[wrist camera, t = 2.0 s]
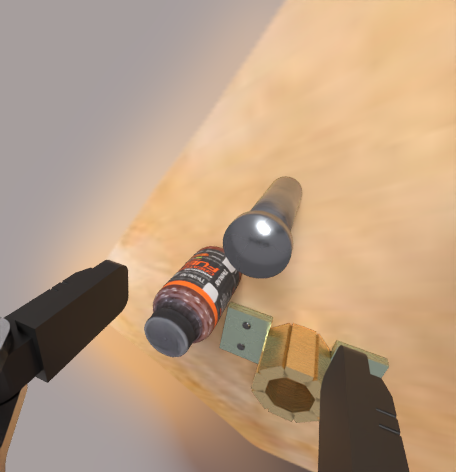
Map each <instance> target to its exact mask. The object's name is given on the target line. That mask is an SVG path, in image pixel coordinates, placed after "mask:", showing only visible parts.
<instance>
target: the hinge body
mask: <svg viewBox="0 0 456 472" xmlns="http://www.w3.org/2000/svg"><path fill="white" fill-rule="evenodd" d="M272 319H273V317H271V316H268V315H265V314H263V313H260V312H257V311H254V310H252V309H249V308H246V307H243V306H241V305H238V304H235V303H233V302H231V303H230V305H229V307H228V311H227V315H226V320H225V325H224V329H223V334H222V338H221V343H220V348H221V349H223V350H225V351H228V352H230V353H233V354H235V355H238V356H240V357H243V358H245V359H247V360H250V361H252V362H255V363H257V364H258V365H257V369H256V372H255V376H254V379H253V383H252V387H251V389H252V392H253V394H254V395H255V396H256V398H257V399H258V400H259V402H260V403H261V405H262V406H263V407H264V409H268V412H271V413H273V414H275V415H277V416H280V417H282V418H284V419H286V420H289V421H291V422H292V421H293V419H294V421H295V422H296V423H300V422H311V421H319V418H320V390H321V384H322V380H323V377H324V375H325V373H326V371H327V369H328V367H329V365H330V363H331V361H332V359H333V357H334V355H335V353H336V351H337V349H338V347H339V346H340V345H343V346H346V347H348V348H351V349H354V350H357V351H359V352H362V353H365V354H366V355H367V357H368V362H369V368H370V374H372V375H374V376H377V377H380V378H382V376H383V375H384V373H385V372H386V370H387V369H388V368H389V364H388V360H387V359H386V358H384V357H381V356H378V355H375V354H373V353H370V352H367V351H364V350H362V349H359V348H356V347H353V346H351V345H348V344H345V343H342V342H340V341H336V343H335V345H334V347H333V349H332V351H330V350H329V348H328V346H327V345H326V343H325V342H324V340H323V339H322V337H321V336H320V334H317V335H316V331H313V330H311V329H308V328H305V327H302V326H300V325H297V324H294V323H293V325H292V326H291V325H290V323H287V324H284V325H281V326H277V327H274V328H270V326H271V323H272ZM269 329H270V330H269Z"/></svg>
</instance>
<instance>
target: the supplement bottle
mask: <svg viewBox="0 0 456 472" xmlns="http://www.w3.org/2000/svg"><path fill="white" fill-rule="evenodd" d="M240 278H241V273H240V272H239V271H238V270H236V269H235V268H234V267H233V266H232V265H231V264H230V262H229V261H228V259H227V258H226V255H225V253H224V249H222V248H219V247H214V246H209V247H205V248H203V249H201V250H199V251H198V252H197V253H196V254H194V256H193V257H192V258H191V259H190V260H189V261H188V262H186V264H185V265H184V266H183V267H182V268H181V269H180V270H179V271H178V272H177V273H176V274H175V275H174V276H173V277H172V278H171V279H170V280H169V281H168V282H167V283H166V284H165V285H164V286H163V288H162V289H161V290H160V291H159V292H158V293H157V295H156V297H155V299H154V302H153V314H152V316H151V317H150V318H149V319H148V320H147V322H146V324H145V327H144V330H145V335H146V338H147V339H148V341H149V342H150V344H151V345H152V346H153V347H154V348H155V349H156V350H158V351H159V352H160V353H162V354H165V355H167V356H170V357H180V356H182V355H184V354H185V353H186V352H187V351H188V349H189V347H190V346H191V345H192V343H197V342H200V341H202V340H204V339H206V338H207V337H208V336H209V335H210V334H211V332H212V331H213V329H214V328H215V325H216V324H217V322H218V320H219V319H220V317H221V315H222V313H223V311H224V309H225V308H226V306H227V304H228V302H229V300H230V298H231V297H232V295H233V293H234V291H235V289H236V288H237V286H238V283H239V281H240Z"/></svg>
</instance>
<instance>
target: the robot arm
mask: <svg viewBox="0 0 456 472" xmlns="http://www.w3.org/2000/svg"><path fill="white" fill-rule="evenodd" d="M127 301H128V269H127V267H126V266H124V265H122V264H119V263H116V262H113V261H111V260H105V261H103V262H102V263H100V264H99V265H97V266H96V267H94V268H88V269H85V270H83V271H79V272H76V273H74V274H73V275H71V276H70V277H68V278H67V279H65V280H63V282H62V283H58V284H57V285H55V286H54V287H52V289H51V290H50V289H49V290H47V291H46V292H44V293H43V294H41V295H39V296H38V297H36V298H35V299H33V300H32V301H30V302H29V303H27V304H25V305H24V306H22V307H20V308H19V309H17V310H16V311H14V312H12V313H11V314H9V315H8V316H6V317H4V318H2V317H0V472H5V463H6V456H7V452H8V448H9V446H10V443H11V440H12V436H13V433H14V430H15V427H16V424H17V420H18V417H19V414H20V411H21V408H22V405H23V401H24V398H25V395H26V392H27V388H28V387H27V383H29V382H30V381H31V380H32V379H33V378H34V377H37V378H39V379H41V380H43V381H45V382H49V381H50V380H51V379H52V378H53V377H54V376H55V375H56V374H57V373H58V372H59V371H60V370H61V369H63V368H64V367H65V366H66V365H67V364H68V363H69V362H70V361H71V360H72V359H73V358H74V357H75V356H76V355H77V354H78V353H79V352H80V351H81V350H82V349H83V348H84V347H85V346H87V344H89V343H90V342H91V341H92V340H93V339H94V338H95V337H96V336H97V335H98V334H99V333H100V332H101V331H102V330H103V329H104V328H105V327H106V326H107V325H108V324H109V323H110V322H111V321H113V320H114V319H115V318H116V317H117V316H118V315H119V314H120V313H121V312H122V311H123V309H124V308H125V306H126V304H127ZM318 472H409V468H408V463H407V459H406V455H405V450H404V446H403V442H402V437H401V436H400V429H399V424H398V420H397V419H396V411H395V407H394V403H393V398H392V396H391V394H390V392H389V391H388V389H387V387H386V385H385V384H384V382H383V380H382V379H381V378H380V377H377V376H374V375H372V374H370V368H369V362H368V357H367V355H366V354H365V353H362V352H359V351H357V350H354V349H351V348H348V347H346V346H343V345H340V346H339V347H338V349H337V351H336V353H335V355H334V357H333V359H332V361H331V363H330V365H329V367H328V369H327V371H326V373H325V375H324V377H323V380H322V384H321V390H320V418H319V458H318Z"/></svg>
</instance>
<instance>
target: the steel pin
mask: <svg viewBox="0 0 456 472" xmlns="http://www.w3.org/2000/svg"><path fill="white" fill-rule="evenodd" d="M301 197H302V188H301V186H300V184H299V183H298V181H296V180H295V179H293V178H291V177H281V178H278V179H276V180H275V181H274V182H273V183H272V184H271V186H270V187H269V188H268V189H267V191H266V192H265V193H264V194H263V196H262V197H261V198H260V199H259V201H258V202H257V203H256V204H255V206H254V207H253V208H252V209H251V211H249V212H246V213H243V214H241V215H240V216H238V217H237V218H236V219H235V220H234V221H233V222H232V223H231V224H230V225H229V227H228V228H227V230H226V231H225V234H224V237H223V249H224V253H225V255H226V258H227V259H228V261H229V262H230V264H231V265H232V266H233V267H234V268H235V269H236V270H238V271H239V272H240V273H242V274H244V275H246V276H249V277H253V278H269V277H273V276H275V275H277V274H279V273H280V272H281V271H283V270H284V269H285V267H286V266H287V264H288V263H289V260H290V257H291V253H292V249H293V239H292V235H291V229H292V226H293V222H294V219H295V216H296V213H297V210H298V207H299V203H300V200H301Z"/></svg>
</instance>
